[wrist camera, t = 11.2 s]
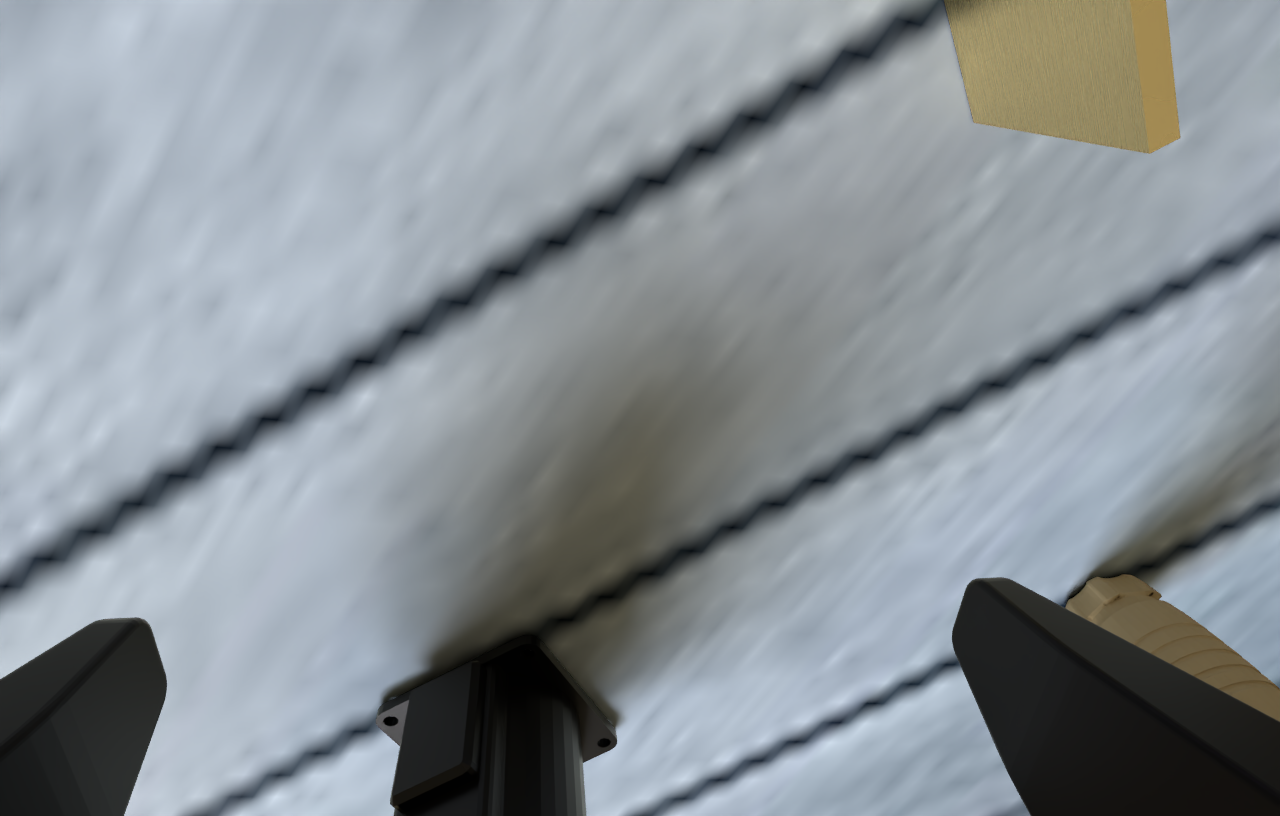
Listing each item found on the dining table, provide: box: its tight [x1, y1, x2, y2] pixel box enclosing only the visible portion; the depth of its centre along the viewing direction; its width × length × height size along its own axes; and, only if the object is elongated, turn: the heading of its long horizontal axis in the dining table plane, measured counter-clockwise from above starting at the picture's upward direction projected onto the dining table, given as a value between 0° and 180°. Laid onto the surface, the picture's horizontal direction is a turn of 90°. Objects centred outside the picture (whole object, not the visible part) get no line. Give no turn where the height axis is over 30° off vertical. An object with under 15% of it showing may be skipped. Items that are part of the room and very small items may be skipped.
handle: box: [1065, 574, 1280, 721], centre depth 21 cm, size 5×6×15 cm
